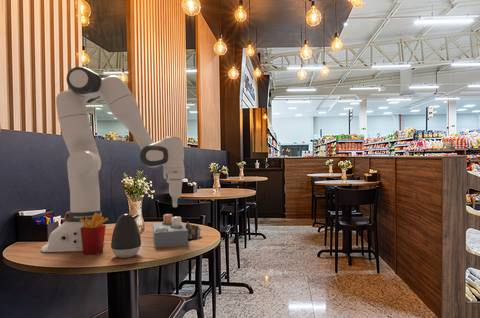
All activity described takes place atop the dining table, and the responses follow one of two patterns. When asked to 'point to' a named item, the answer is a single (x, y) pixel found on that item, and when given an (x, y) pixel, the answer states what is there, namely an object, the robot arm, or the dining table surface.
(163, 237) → the grey open box
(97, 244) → the french fries
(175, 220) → the cream plunger
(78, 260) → the dining table surface
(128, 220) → the dark grey egg shape
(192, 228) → the chocolate cake
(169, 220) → the terracotta plunger
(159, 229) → the grey plunger
